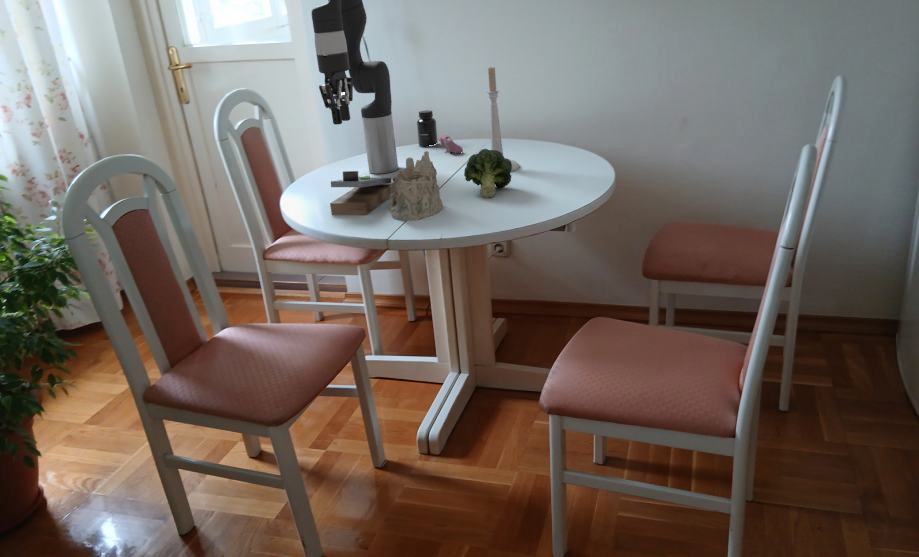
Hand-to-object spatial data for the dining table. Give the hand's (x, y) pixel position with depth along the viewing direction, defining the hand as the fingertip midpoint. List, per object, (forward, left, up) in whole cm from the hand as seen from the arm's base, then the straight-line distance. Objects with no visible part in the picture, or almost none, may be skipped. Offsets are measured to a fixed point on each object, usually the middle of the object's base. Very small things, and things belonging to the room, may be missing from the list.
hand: (341, 121), depth 186 cm
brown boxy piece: (-7, 0, -23) cm, 24 cm away
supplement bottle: (-77, -8, -23) cm, 80 cm away
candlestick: (-44, +27, -23) cm, 56 cm away
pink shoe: (-66, +4, -24) cm, 70 cm away
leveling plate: (-6, 0, -18) cm, 19 cm away
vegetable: (-18, +32, -24) cm, 44 cm away
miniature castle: (-1, +16, -24) cm, 28 cm away
